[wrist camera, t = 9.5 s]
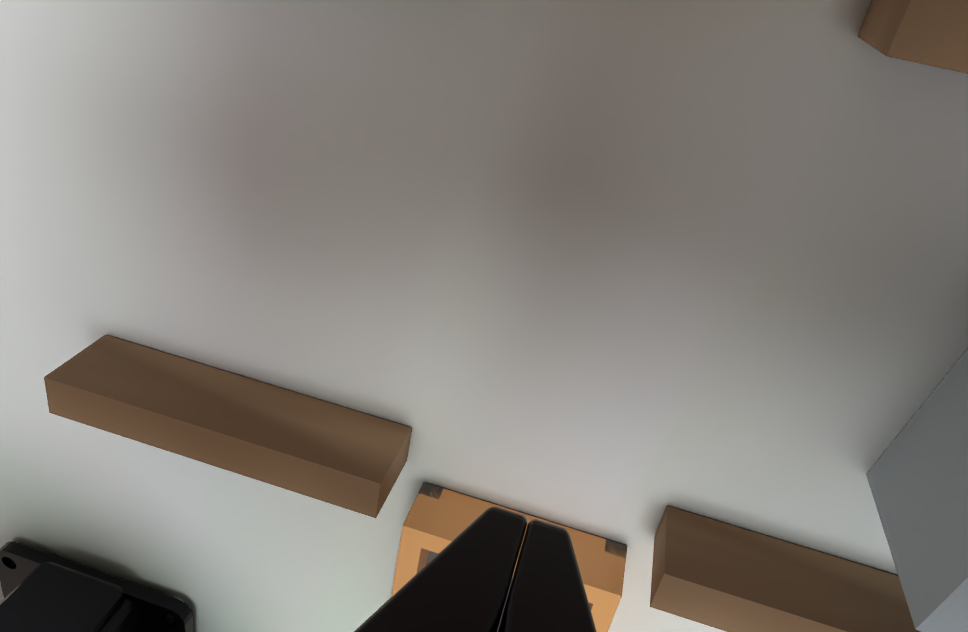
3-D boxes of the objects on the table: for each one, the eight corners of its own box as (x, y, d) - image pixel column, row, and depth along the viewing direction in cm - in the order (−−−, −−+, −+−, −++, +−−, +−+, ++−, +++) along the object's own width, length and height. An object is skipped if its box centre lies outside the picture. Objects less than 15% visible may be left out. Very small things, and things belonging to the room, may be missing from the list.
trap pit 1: (577, 677, 20) (568, 729, 18) (400, 616, 20) (380, 663, 19) (627, 545, 17) (621, 596, 16) (423, 482, 18) (402, 525, 17)
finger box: (1261, 745, 15) (1375, 908, 13) (110, 383, 19) (18, 455, 16) (2004, 141, 9) (2532, 227, 6) (47, -238, 12) (-121, -280, 10)
